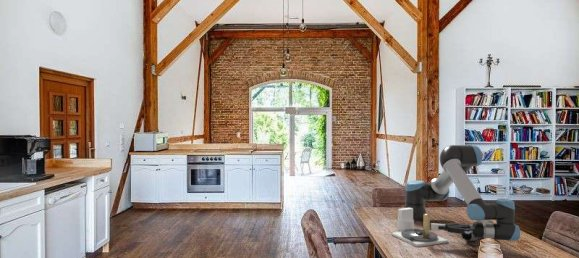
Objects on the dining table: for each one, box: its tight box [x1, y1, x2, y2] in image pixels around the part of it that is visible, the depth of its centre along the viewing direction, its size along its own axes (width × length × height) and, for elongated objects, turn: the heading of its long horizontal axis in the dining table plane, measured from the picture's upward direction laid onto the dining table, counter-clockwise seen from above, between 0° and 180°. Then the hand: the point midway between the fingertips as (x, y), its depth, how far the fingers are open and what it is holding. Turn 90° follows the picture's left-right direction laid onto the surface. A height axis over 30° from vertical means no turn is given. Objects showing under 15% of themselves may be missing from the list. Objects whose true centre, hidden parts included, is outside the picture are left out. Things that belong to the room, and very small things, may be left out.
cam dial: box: [400, 213, 439, 241], centre depth 194 cm, size 18×18×13 cm
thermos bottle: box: [461, 220, 494, 242], centre depth 197 cm, size 8×8×28 cm
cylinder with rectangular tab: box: [396, 207, 415, 232], centre depth 210 cm, size 9×9×12 cm
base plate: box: [391, 231, 449, 247], centre depth 194 cm, size 20×20×3 cm
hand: (431, 226), depth 186 cm, fingers closed
